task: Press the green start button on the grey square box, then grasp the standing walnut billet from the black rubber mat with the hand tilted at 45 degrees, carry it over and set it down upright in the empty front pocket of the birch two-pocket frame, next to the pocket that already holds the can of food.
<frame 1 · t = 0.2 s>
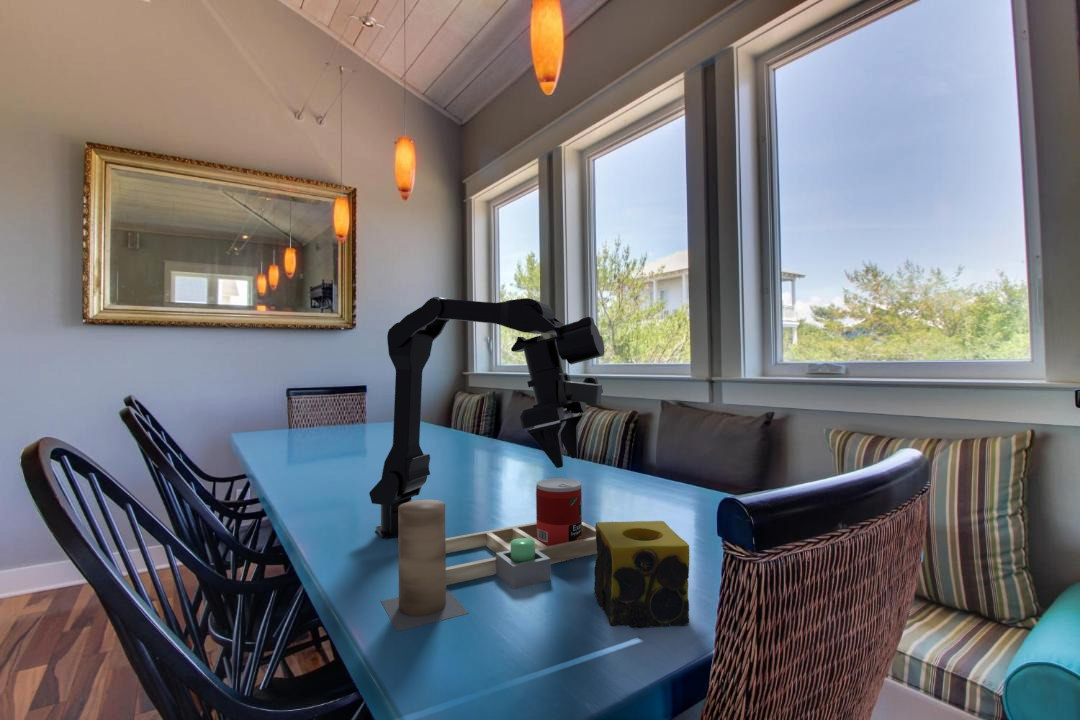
hand: (567, 462, 86), 15 cm above the table, tool pointing down, fingers open, 9 cm apart
grey square box: (522, 579, 76), on the table
rubber mat: (423, 610, 67), on the table
walnut billet: (422, 605, 67), resting on rubber mat
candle: (638, 610, 67), on the table
start button: (522, 552, 76), point 4 cm above the table, slide at 0.0 cm
canned food: (559, 546, 90), resting in birch frame
birch frame: (515, 554, 86), on the table
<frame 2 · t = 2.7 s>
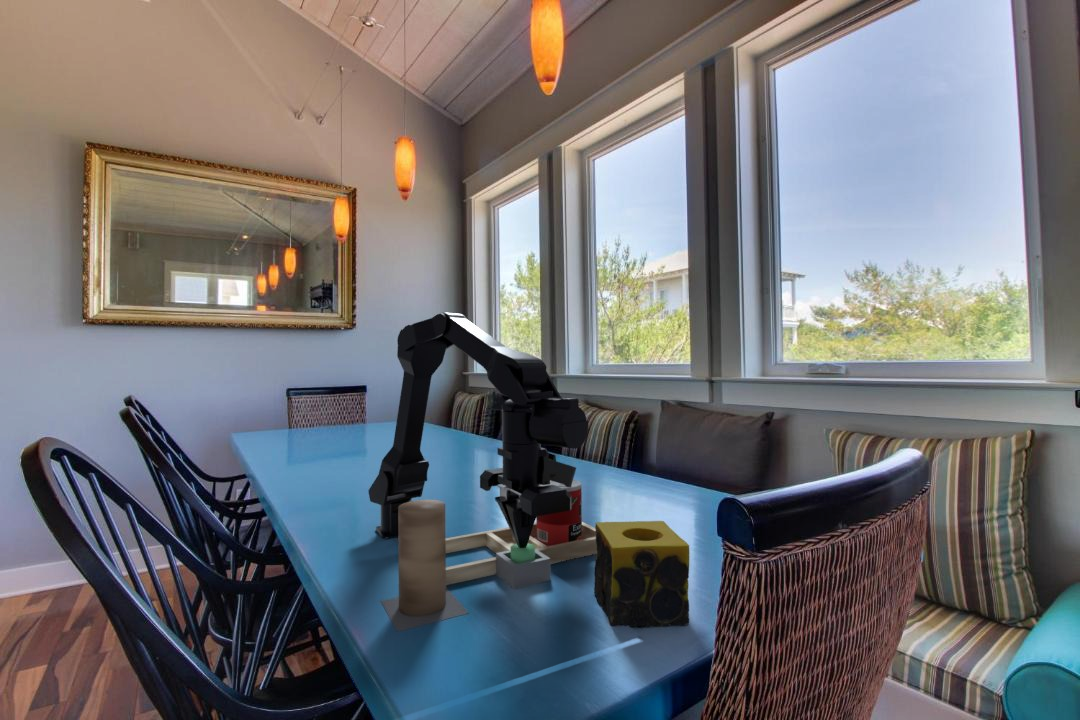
hand: (522, 547, 76), 5 cm above the table, tool pointing down, fingers closed, pressing on start button
start button: (522, 557, 76), point 3 cm above the table, slide at 0.7 cm, touching gripper
everything else where it was.
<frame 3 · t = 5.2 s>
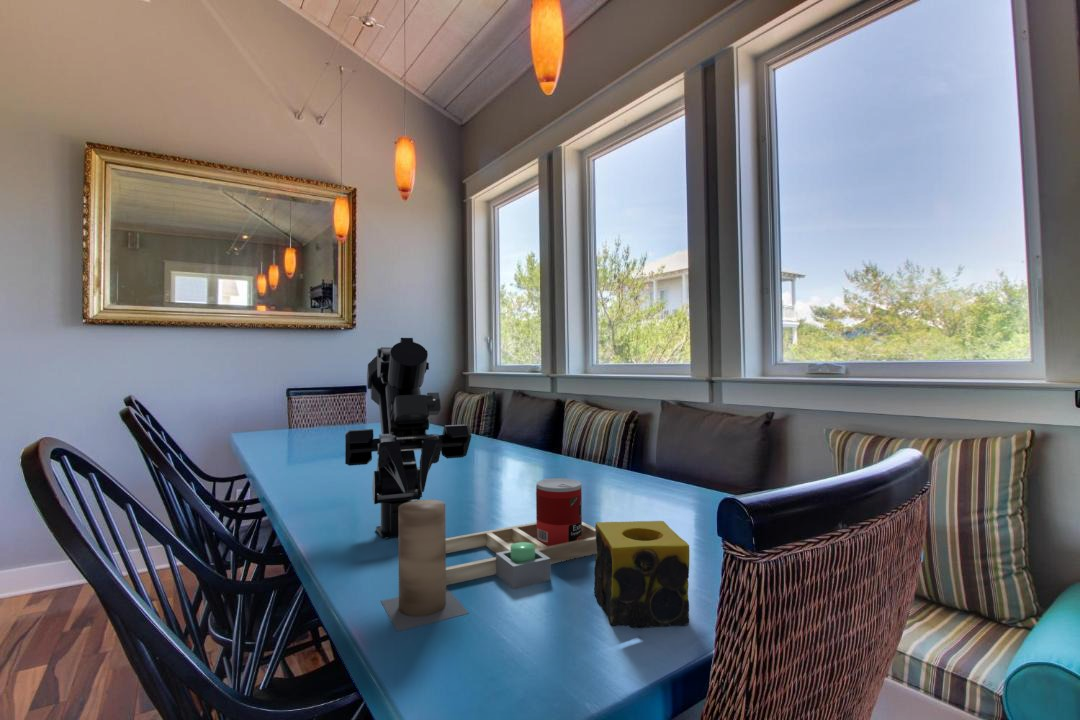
hand: (414, 491, 75), 13 cm above the table, tool tilted 45°, fingers closed
start button: (522, 556, 76), point 3 cm above the table, slide at 0.6 cm
everything else where it was.
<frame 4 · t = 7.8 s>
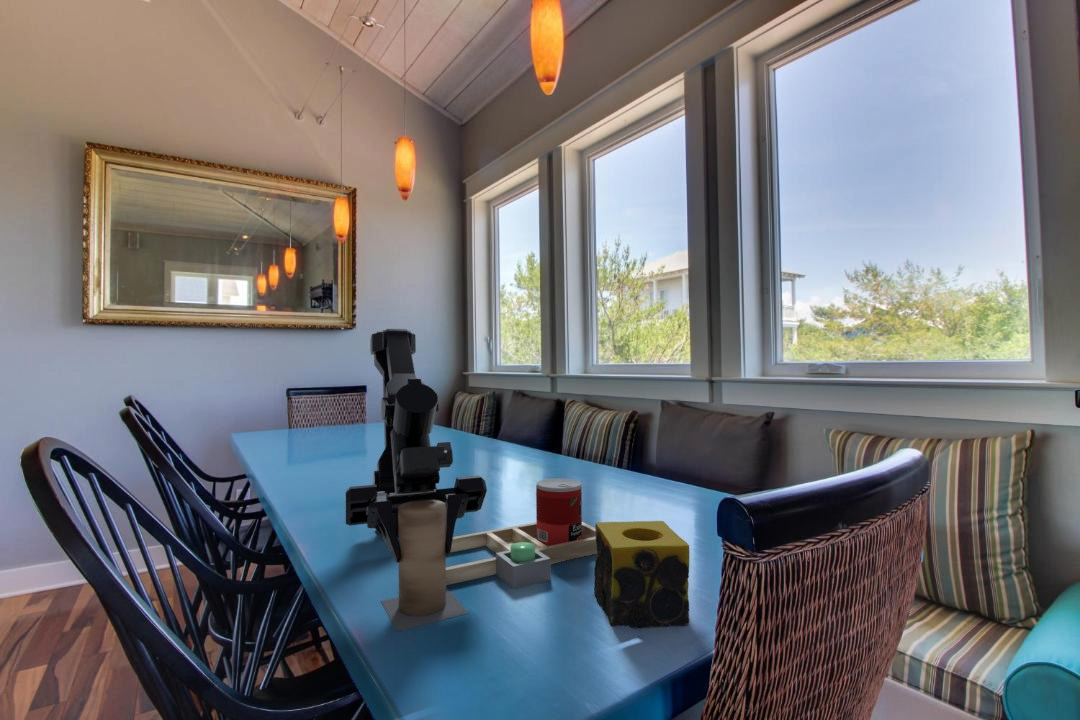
hand: (423, 557, 66), 7 cm above the table, tool tilted 45°, fingers closed on walnut billet, 6 cm apart
walnut billet: (422, 605, 67), resting on rubber mat, touching gripper
everything else where it was.
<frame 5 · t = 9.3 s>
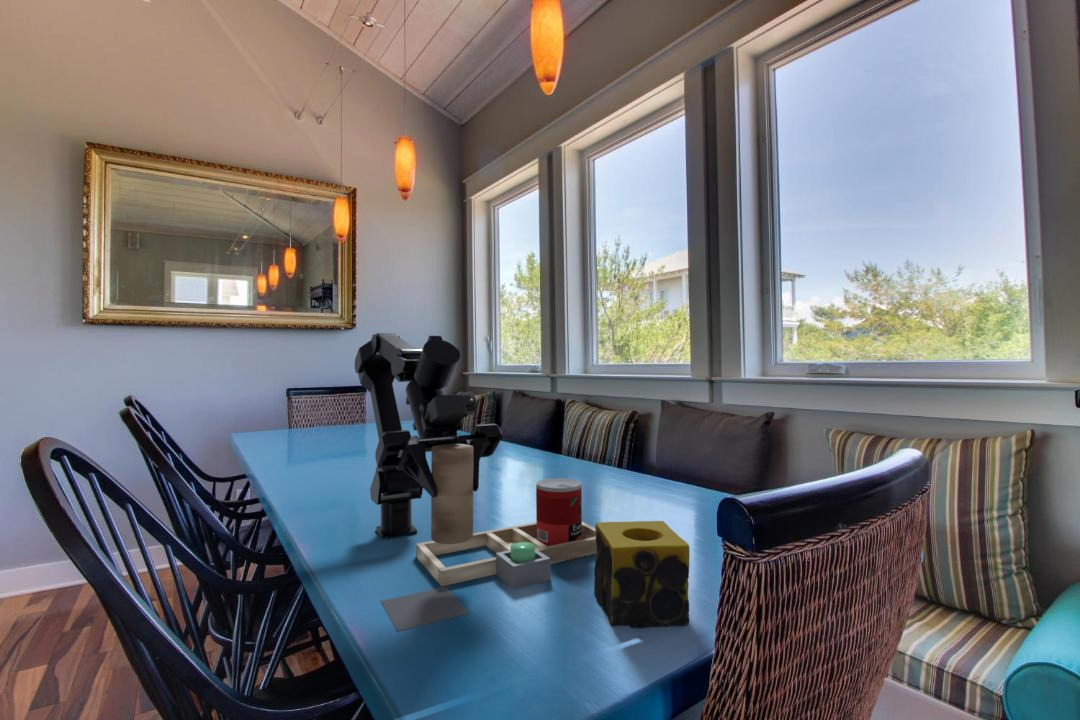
hand: (456, 492, 74), 13 cm above the table, tool tilted 45°, fingers closed on walnut billet, 6 cm apart
walnut billet: (452, 536, 75), point 7 cm above the table, touching gripper
everything else where it was.
when the fingers open (8 cm above the table, at t = 11.2 s): walnut billet drops 2 cm, resting in birch frame.
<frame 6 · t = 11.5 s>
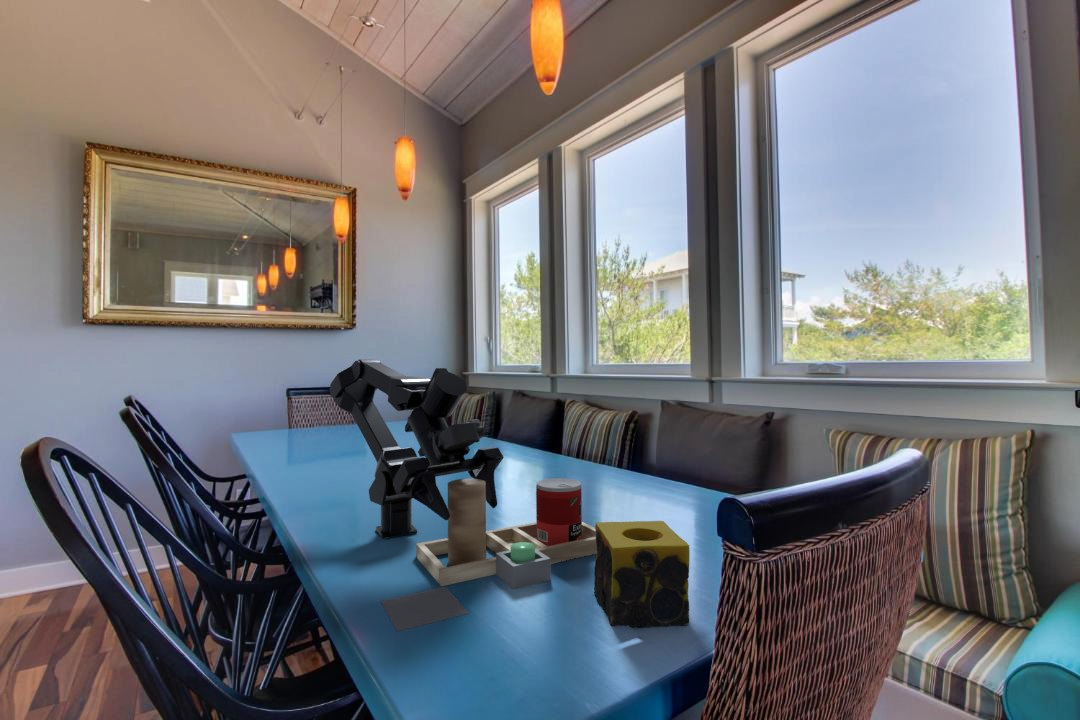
hand: (472, 512, 81), 9 cm above the table, tool tilted 45°, fingers open, 9 cm apart
walnut billet: (467, 564, 82), resting in birch frame
everything else where it was.
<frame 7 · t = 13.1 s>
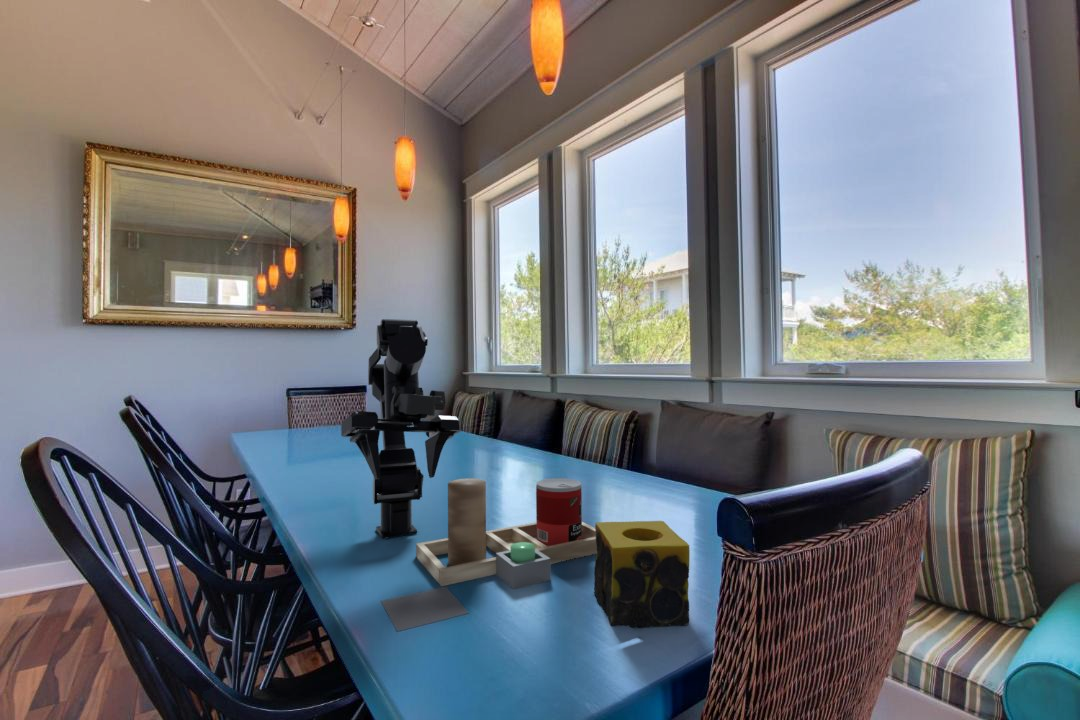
hand: (405, 478, 83), 14 cm above the table, tool tilted 20°, fingers open, 9 cm apart
nothing on the table moved.
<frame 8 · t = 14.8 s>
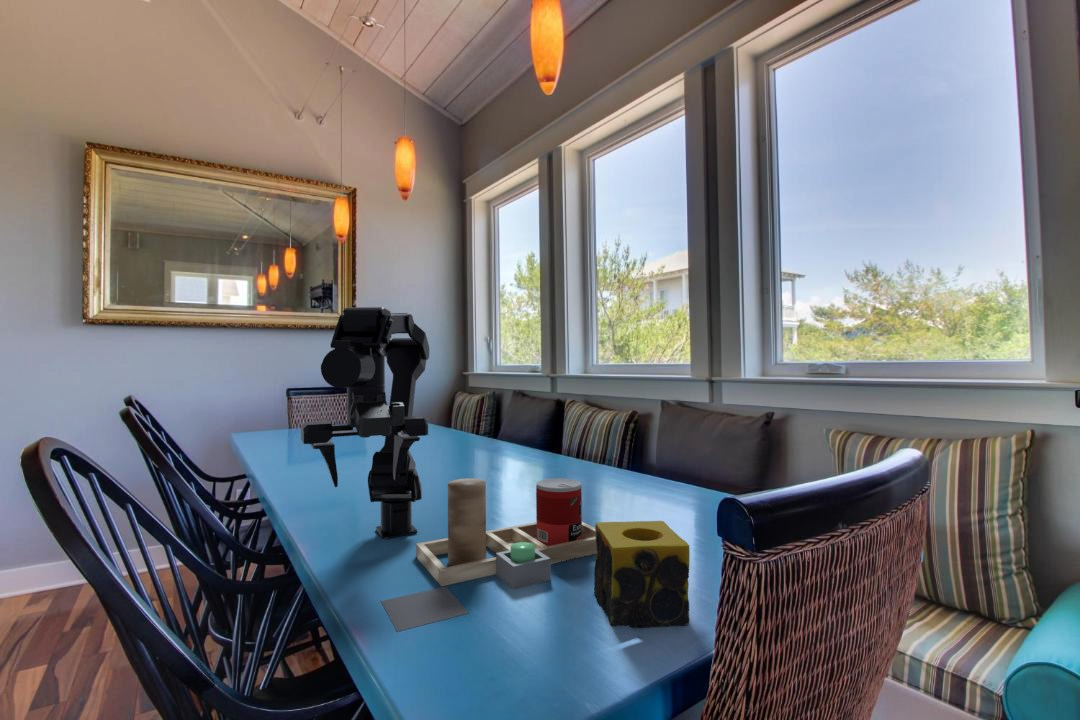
hand: (366, 483, 82), 13 cm above the table, tool pointing down, fingers open, 9 cm apart
nothing on the table moved.
at the end: walnut billet inside the target area on the birch frame (0.1 cm from its centre), point 0.0 cm above the birch frame's base; walnut billet tilted 0°; the gripper is holding nothing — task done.
